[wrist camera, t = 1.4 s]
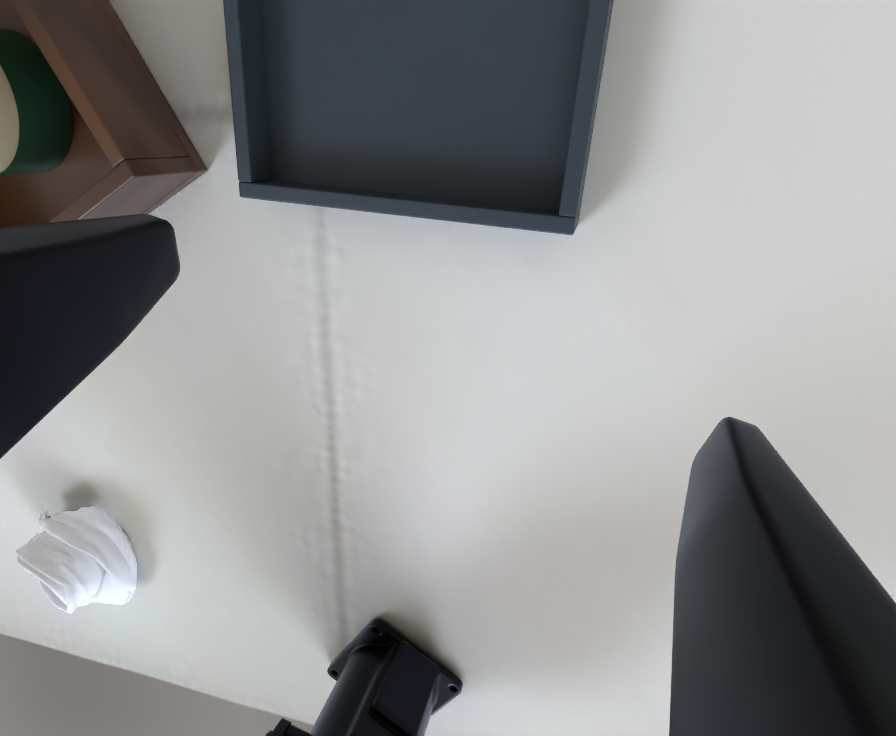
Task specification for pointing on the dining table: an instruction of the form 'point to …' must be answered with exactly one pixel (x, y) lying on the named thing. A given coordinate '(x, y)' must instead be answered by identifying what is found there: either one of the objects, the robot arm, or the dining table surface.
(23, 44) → the bottle
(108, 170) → the crate
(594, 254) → the dining table surface
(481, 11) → the tray
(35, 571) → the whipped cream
